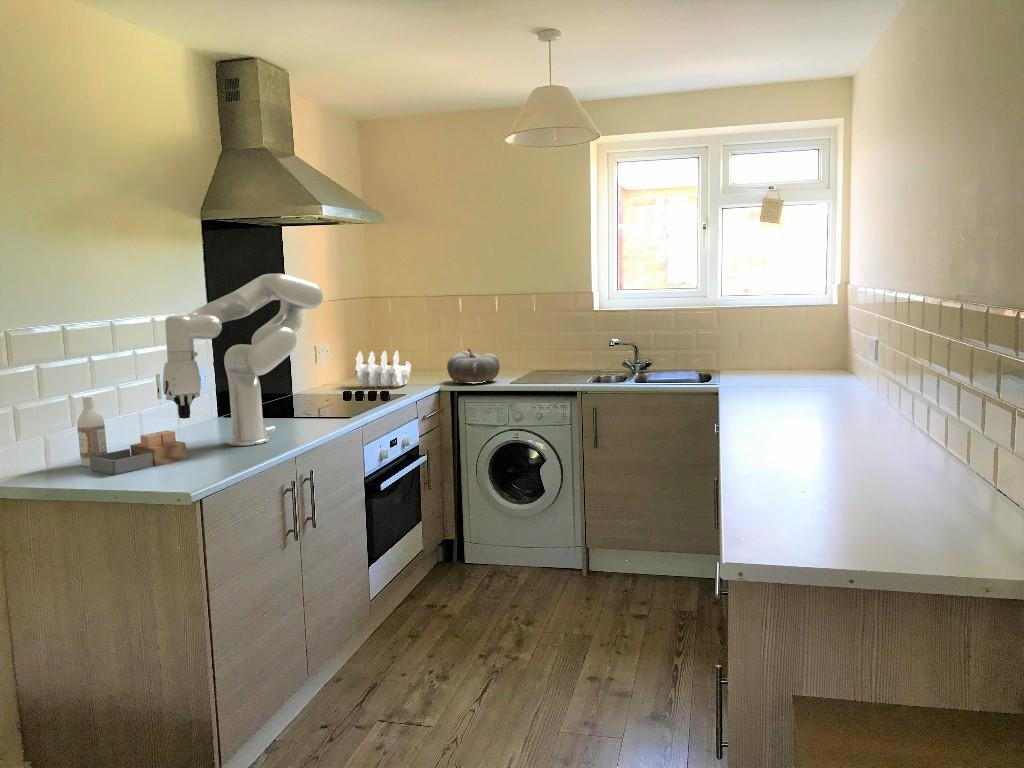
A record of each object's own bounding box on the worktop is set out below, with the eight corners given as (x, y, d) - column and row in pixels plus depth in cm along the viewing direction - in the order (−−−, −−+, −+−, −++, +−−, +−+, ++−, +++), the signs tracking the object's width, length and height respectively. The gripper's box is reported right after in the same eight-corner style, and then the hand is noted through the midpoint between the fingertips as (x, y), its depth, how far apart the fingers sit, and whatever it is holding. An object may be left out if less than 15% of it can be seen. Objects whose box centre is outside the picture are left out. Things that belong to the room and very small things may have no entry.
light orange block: (153, 443, 236) (153, 433, 235) (161, 444, 233) (160, 434, 233) (141, 445, 232) (140, 435, 232) (148, 447, 230) (148, 436, 230)
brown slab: (163, 455, 243) (161, 438, 242) (186, 459, 236) (185, 442, 235) (131, 461, 235) (130, 445, 234) (155, 466, 228) (153, 448, 227)
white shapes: (405, 396, 379) (354, 394, 383) (414, 376, 394) (365, 374, 397) (401, 363, 369) (348, 361, 373) (410, 344, 384) (359, 342, 387)
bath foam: (76, 465, 231) (69, 397, 229) (98, 460, 238) (91, 394, 235) (91, 468, 228) (84, 398, 226) (113, 462, 234) (106, 395, 232)
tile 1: (168, 440, 239) (167, 430, 239) (175, 441, 237) (175, 431, 237) (155, 442, 236) (154, 432, 236) (163, 444, 234) (162, 434, 233)
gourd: (454, 374, 406) (458, 340, 402) (502, 382, 402) (506, 348, 397) (440, 385, 383) (443, 350, 378) (490, 394, 378) (494, 359, 374)
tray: (130, 462, 234) (128, 448, 234) (153, 466, 227) (152, 452, 227) (91, 470, 225) (89, 456, 224) (114, 475, 218) (112, 461, 217)
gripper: (195, 355, 248) (199, 413, 250) (150, 358, 235) (154, 420, 237) (210, 355, 243) (213, 415, 245) (165, 359, 231) (169, 422, 233)
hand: (184, 417), depth 241 cm, fingers closed
